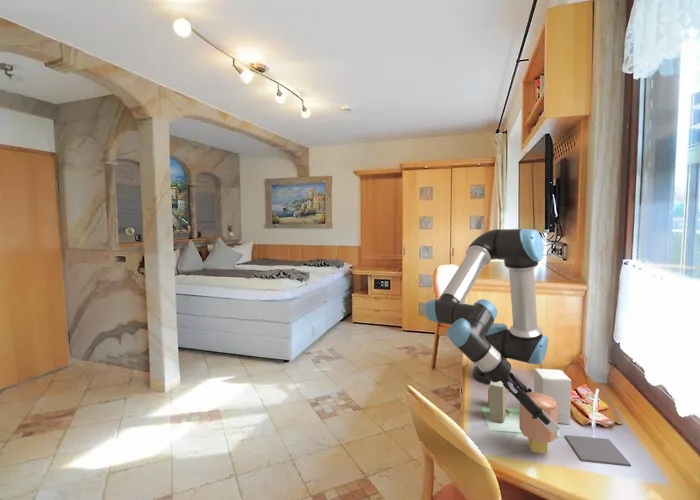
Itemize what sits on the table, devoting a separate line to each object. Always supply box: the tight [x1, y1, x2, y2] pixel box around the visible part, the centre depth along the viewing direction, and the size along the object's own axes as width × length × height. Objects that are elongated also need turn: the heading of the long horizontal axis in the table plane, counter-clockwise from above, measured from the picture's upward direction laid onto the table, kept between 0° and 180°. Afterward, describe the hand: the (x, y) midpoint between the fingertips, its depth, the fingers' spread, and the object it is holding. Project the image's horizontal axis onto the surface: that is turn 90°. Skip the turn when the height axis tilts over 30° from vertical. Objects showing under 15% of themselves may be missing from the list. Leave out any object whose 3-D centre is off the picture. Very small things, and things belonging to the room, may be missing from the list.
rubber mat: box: [564, 434, 632, 467], centre depth 105 cm, size 12×12×1 cm
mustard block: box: [527, 437, 549, 454], centre depth 106 cm, size 4×4×4 cm
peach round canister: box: [519, 391, 558, 443], centre depth 105 cm, size 9×9×10 cm
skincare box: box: [488, 381, 507, 424], centre depth 123 cm, size 6×4×12 cm
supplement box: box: [533, 367, 572, 425], centre depth 123 cm, size 9×9×15 cm
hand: (550, 420), depth 105 cm, fingers closed on peach round canister, 9 cm apart
